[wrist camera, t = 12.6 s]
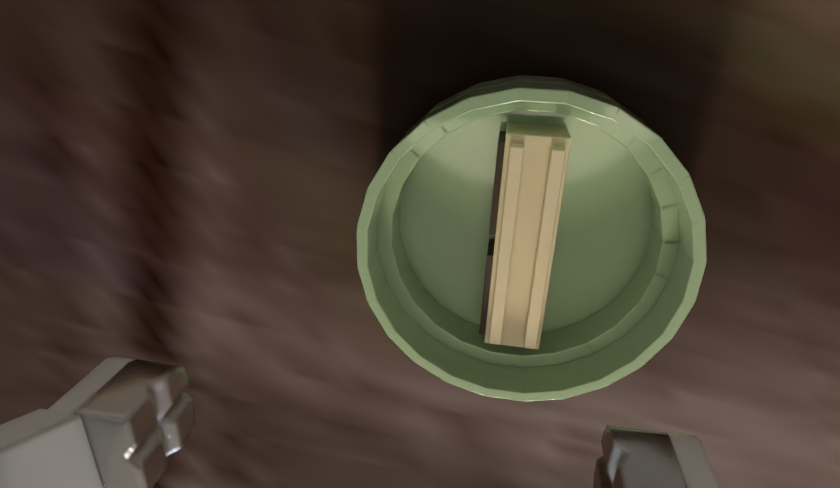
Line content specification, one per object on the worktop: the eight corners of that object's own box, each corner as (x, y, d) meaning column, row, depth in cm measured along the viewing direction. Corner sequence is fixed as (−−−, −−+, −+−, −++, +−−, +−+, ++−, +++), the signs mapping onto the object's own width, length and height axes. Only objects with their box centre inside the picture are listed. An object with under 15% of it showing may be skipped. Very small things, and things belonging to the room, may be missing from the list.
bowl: (381, 65, 30) (354, 77, 25) (710, 84, 27) (753, 101, 22) (379, 328, 37) (358, 379, 32) (640, 361, 34) (661, 420, 29)
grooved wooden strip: (500, 121, 29) (498, 135, 26) (566, 126, 29) (573, 141, 26) (481, 317, 34) (477, 349, 31) (537, 324, 34) (539, 356, 31)
